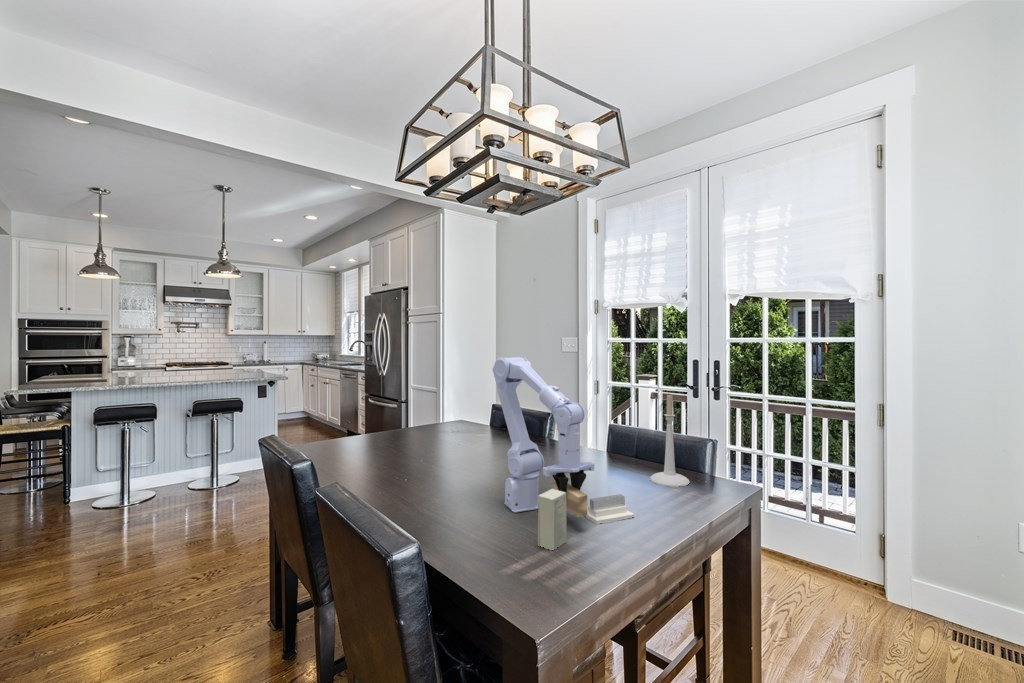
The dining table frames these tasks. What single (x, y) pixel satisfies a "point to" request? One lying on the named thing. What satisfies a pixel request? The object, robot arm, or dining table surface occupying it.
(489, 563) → the dining table surface
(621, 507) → the ridge stand
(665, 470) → the candlestick
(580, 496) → the oak bar
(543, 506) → the skincare box
